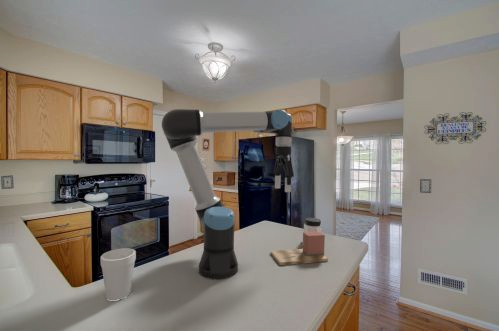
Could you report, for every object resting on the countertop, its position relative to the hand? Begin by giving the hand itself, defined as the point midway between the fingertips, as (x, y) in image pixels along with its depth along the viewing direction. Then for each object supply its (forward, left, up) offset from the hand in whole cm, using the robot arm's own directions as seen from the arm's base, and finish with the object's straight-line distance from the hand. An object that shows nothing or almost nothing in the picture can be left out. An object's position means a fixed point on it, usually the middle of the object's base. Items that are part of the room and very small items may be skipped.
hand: (282, 190), depth 111 cm
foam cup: (-64, -27, -29) cm, 75 cm away
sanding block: (+11, -11, -28) cm, 32 cm away
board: (+4, -11, -29) cm, 31 cm away
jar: (+20, +6, -29) cm, 36 cm away
